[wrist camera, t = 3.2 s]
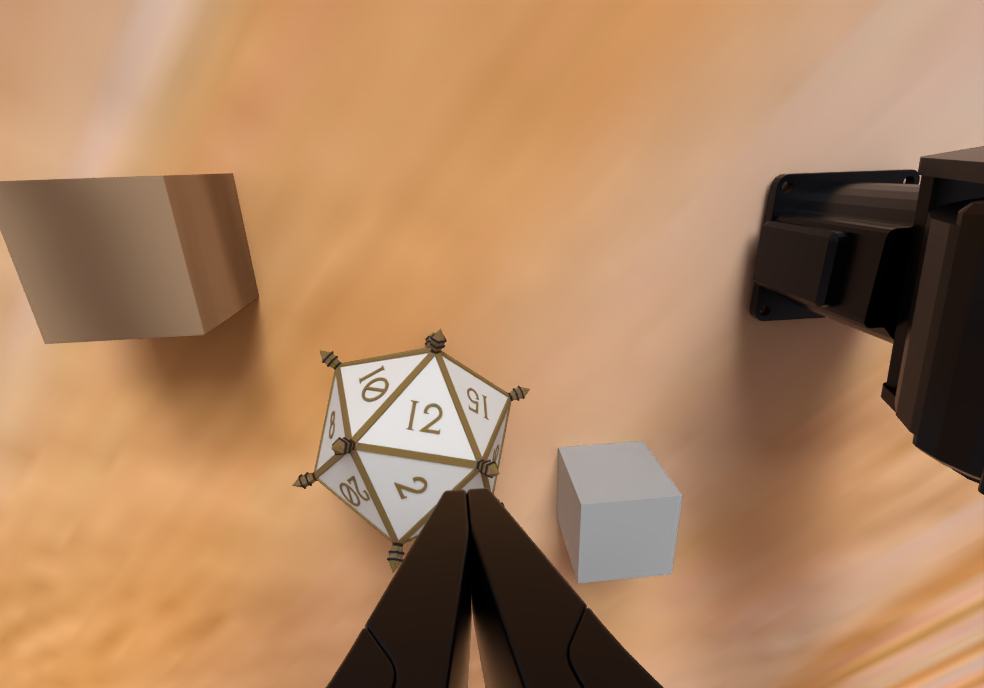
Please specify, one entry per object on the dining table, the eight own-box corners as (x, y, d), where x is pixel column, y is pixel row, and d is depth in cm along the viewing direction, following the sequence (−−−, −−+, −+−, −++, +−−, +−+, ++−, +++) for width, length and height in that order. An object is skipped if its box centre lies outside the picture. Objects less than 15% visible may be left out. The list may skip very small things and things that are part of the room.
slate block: (642, 440, 25) (682, 495, 21) (635, 509, 26) (671, 574, 22) (558, 446, 25) (581, 504, 20) (556, 516, 26) (577, 583, 22)
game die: (432, 393, 27) (401, 591, 21) (297, 319, 22) (210, 557, 16) (567, 345, 22) (572, 588, 16) (435, 233, 16) (377, 537, 11)
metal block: (233, 173, 19) (163, 175, 14) (259, 296, 20) (204, 334, 16) (99, 177, 18) (-18, 182, 14) (138, 302, 20) (45, 344, 15)
